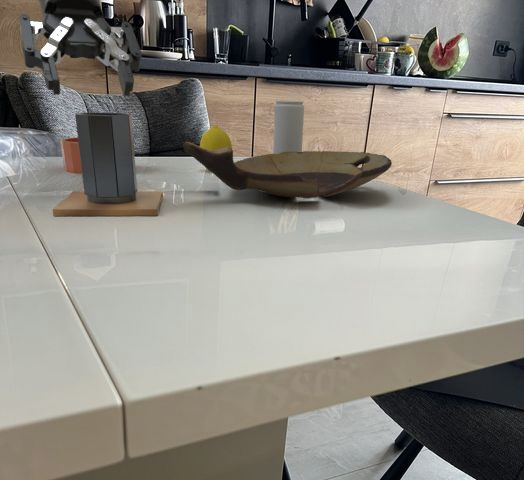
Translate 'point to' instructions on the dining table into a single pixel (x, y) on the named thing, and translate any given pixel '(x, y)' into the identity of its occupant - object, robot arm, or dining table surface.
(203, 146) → the lemon
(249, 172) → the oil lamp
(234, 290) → the dining table surface
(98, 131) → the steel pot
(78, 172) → the terracotta pot
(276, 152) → the beverage can
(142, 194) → the cork trivet
